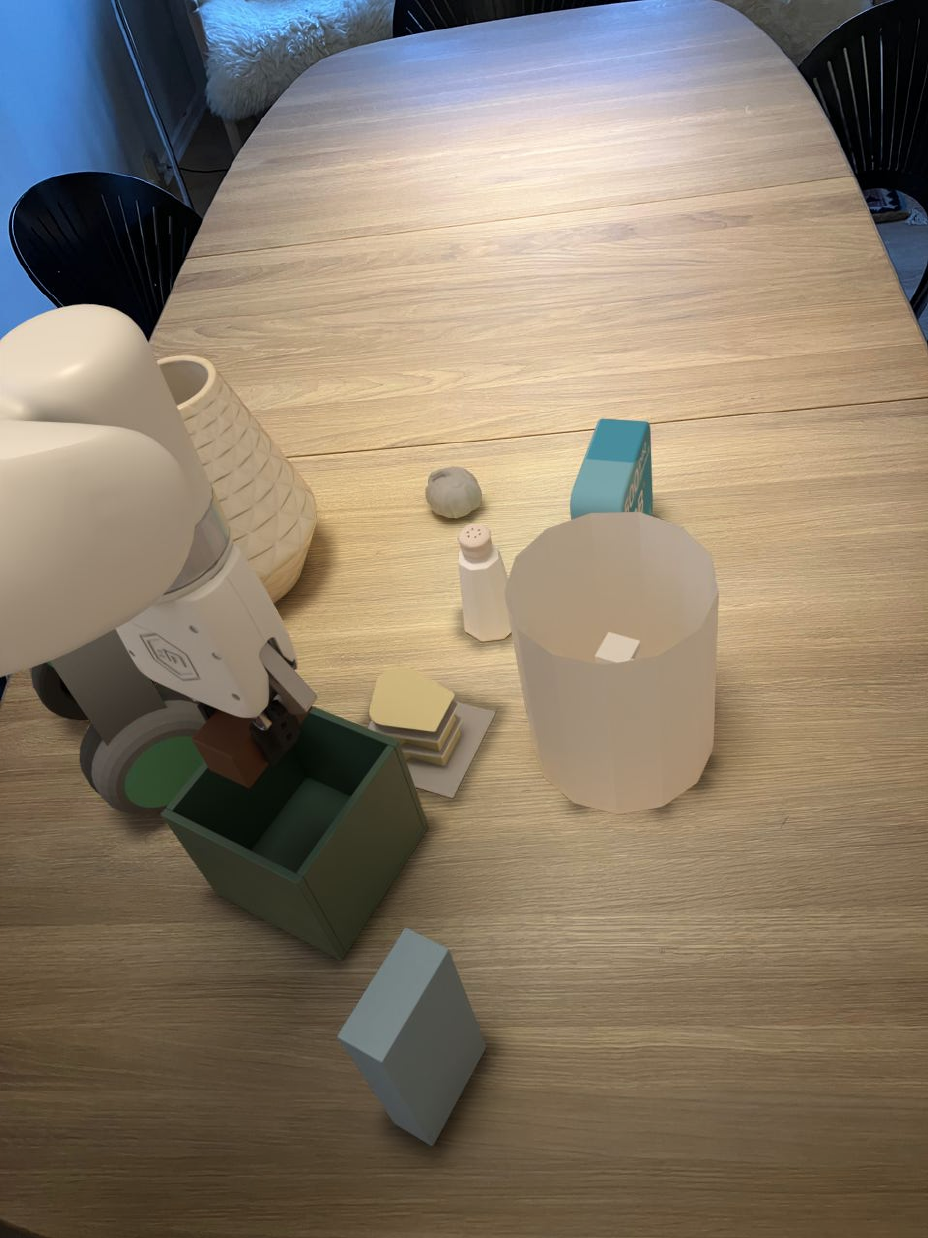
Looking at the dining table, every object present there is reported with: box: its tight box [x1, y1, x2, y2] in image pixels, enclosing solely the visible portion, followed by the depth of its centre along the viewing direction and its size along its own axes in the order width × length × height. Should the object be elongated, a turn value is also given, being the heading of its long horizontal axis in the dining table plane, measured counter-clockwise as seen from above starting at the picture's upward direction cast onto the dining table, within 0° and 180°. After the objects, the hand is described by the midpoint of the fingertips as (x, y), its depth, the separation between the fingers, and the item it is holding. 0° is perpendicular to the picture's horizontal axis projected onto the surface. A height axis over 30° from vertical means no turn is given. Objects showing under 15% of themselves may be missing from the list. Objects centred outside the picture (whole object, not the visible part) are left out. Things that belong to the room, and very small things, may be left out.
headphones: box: [28, 629, 206, 816], centre depth 84 cm, size 19×11×20 cm, turn 36°
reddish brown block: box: [192, 690, 312, 788], centre depth 67 cm, size 7×4×4 cm, turn 149°
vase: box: [156, 354, 318, 604], centre depth 95 cm, size 17×17×23 cm
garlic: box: [424, 466, 483, 519], centre depth 104 cm, size 6×5×5 cm
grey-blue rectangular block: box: [336, 927, 487, 1147], centre depth 62 cm, size 7×3×15 cm, turn 149°
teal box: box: [569, 418, 654, 520], centre depth 93 cm, size 12×4×12 cm, turn 162°
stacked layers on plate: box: [367, 665, 497, 799], centre depth 85 cm, size 10×9×6 cm
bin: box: [160, 705, 430, 962], centre depth 76 cm, size 12×12×12 cm
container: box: [504, 512, 720, 815], centre depth 77 cm, size 14×14×18 cm
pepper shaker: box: [457, 523, 512, 643], centre depth 90 cm, size 5×5×11 cm
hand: (259, 734), depth 68 cm, fingers closed on reddish brown block, 3 cm apart
